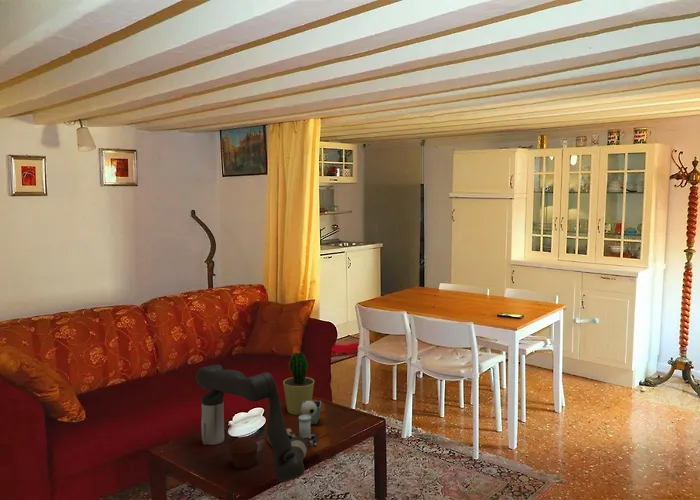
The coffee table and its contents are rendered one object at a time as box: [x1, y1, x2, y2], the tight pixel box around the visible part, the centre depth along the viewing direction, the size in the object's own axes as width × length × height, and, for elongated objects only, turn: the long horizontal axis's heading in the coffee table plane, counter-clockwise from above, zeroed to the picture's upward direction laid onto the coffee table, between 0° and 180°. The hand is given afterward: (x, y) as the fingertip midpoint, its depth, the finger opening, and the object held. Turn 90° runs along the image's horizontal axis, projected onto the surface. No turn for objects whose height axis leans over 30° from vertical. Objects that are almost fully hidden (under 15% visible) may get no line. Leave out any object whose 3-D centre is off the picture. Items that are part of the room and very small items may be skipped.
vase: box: [298, 415, 312, 437], centre depth 250 cm, size 5×5×12 cm
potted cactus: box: [282, 352, 315, 416], centre depth 289 cm, size 15×15×30 cm
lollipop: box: [301, 400, 317, 417], centre depth 261 cm, size 7×7×15 cm
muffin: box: [228, 436, 259, 469], centre depth 232 cm, size 12×11×10 cm
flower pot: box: [302, 400, 322, 425], centre depth 274 cm, size 9×9×9 cm
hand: (302, 433), depth 244 cm, fingers open, 8 cm apart
